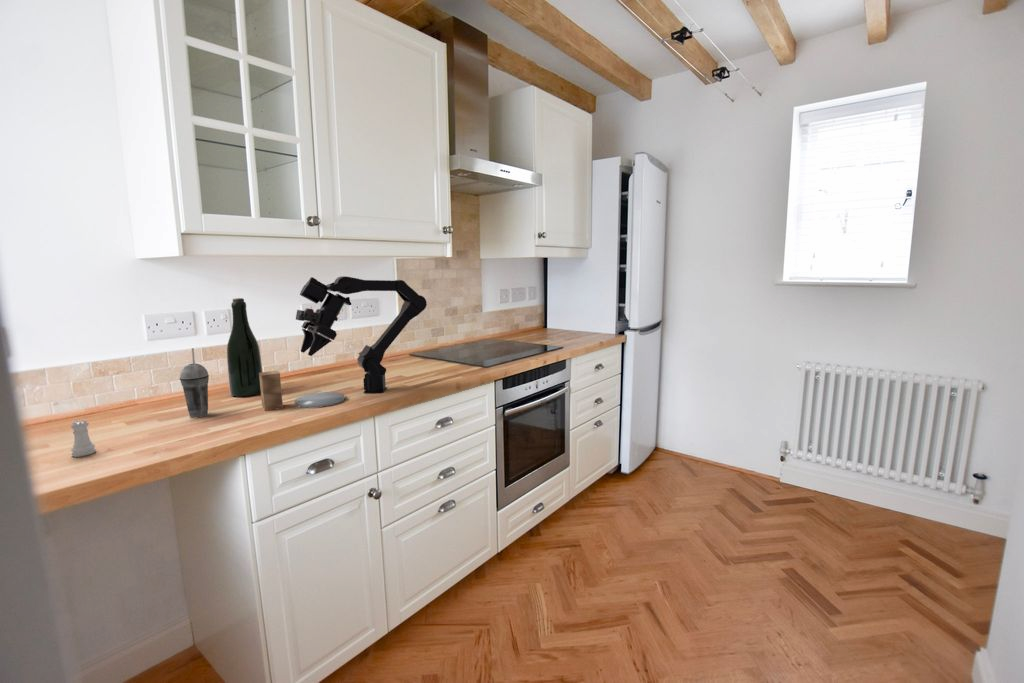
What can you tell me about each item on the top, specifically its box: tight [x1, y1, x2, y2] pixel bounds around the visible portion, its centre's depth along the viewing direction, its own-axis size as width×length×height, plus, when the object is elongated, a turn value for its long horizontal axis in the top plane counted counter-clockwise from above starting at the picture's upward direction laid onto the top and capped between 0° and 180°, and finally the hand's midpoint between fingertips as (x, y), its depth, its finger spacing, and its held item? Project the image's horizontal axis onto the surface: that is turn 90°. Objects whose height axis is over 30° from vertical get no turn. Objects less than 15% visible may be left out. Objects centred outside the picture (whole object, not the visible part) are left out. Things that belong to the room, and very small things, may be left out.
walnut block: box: [259, 370, 284, 411], centre depth 151 cm, size 5×5×11 cm
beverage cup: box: [179, 348, 210, 418], centre depth 143 cm, size 7×7×20 cm
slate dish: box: [294, 391, 346, 408], centre depth 158 cm, size 15×15×1 cm
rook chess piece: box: [70, 419, 97, 458], centre depth 115 cm, size 4×4×8 cm
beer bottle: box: [226, 297, 264, 398], centre depth 167 cm, size 10×10×33 cm
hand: (305, 353), depth 156 cm, fingers open, 9 cm apart
